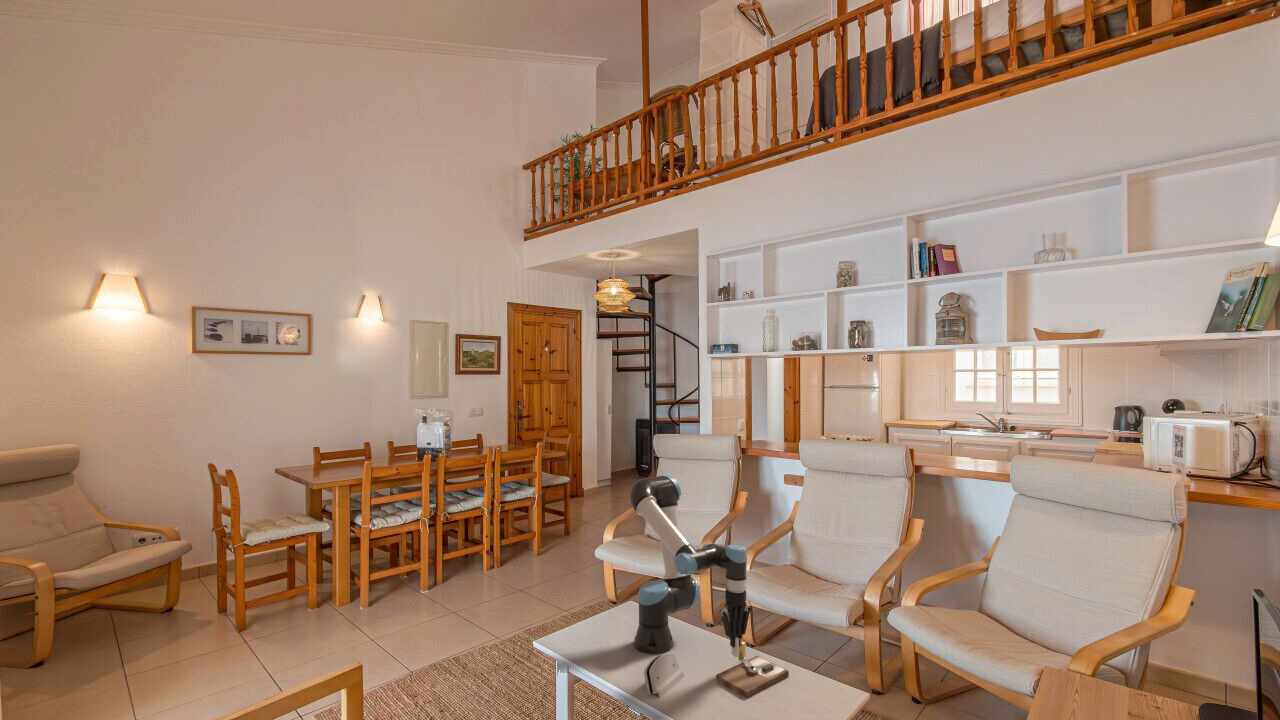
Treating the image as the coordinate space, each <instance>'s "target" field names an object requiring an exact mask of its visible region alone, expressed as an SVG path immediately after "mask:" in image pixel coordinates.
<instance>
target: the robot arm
mask: <svg viewBox="0 0 1280 720" xmlns="http://www.w3.org/2000/svg"><path fill="white" fill-rule="evenodd" d="M681 496H682V489H681V485H680V483H679V482H678V481H677V479H676V478H675V477H673V476H672V475H659V476H651V477H644V478H640V479H638V480H637V481H636V480H635V482H634V483H633V485H631V488H630V491H629V501H630V504H631V507H632V509H633V510H634V511H635V513H636V514H637V515H638V516H641V517H642V518H643V519H644V520H645V522H647V524H648V525H649V526H650V528H652V530H653V531H654V532H655V534H656V535H657V537H658V538H659V543H660V548H661V555H662V560H663V565H664V571H665V572H664V573H665V574H664V575H663V577H662V580H660V579H658V580H650V581H647V582H645V583H643V584H642V585H641V586H640V587H639V590H638V626H637V631H636V634H635V635H634V636H635V637H634V638H633V639H634V640H633V641H634V643H633V644H634V648H635V649H636V650H638V651H639V652H642V653H645V654H654V655H655V654H656V655H657V654H658V655H659V654H664V653H667V652H668V651H670V650H671V649H672V648H673V646H674V642H673V641H674V640H673V636H672V632H671V629H670V626H669V615H672V614H676V613H679V612H682V611H685V610H689V609H690V608H693V607H694V606H696V605H697V603H698V602H699V599H700V596H701V595H700V594H701V592H700V590H701V589H700V586H699V582H697V580H696V578H695V577H693V576H692V575H693V574H695V573H698V572H701V571H705V570H709V569H712V568H720V569H723V570H725V594H724V595H725V604H724V608H723V609H720V610H719V612H718V613H719V614H720V616H721V620H722V623H723V628H724V629H723V630H724V634H725V635H726V636H727V637H729V646H730V647H731V655H733V656H734V657H735V658H737V657H739V646H740V641H741V639H742V638H743V636H744V635H746V631H747V627H748V621H749V617H750V613H751V611H752V607H750V606H749V605H747V602H746V601H747V562H748V555H747V554H748V553H747V549H746V547H745V546H743V545H740V544H733V543H732V544H728V545H727V546H726V547H724V546H721V545H719V544H718V543H717V544H716V543H712V542H707V543H705V544H704V545H703V546H702V547H701V548H698V549H695V548H694V547H693V545H692V544H691V543H690V542H689V540H688V539H687V538H686V537H685V536H684V534H683V533H682V532H681V530H679V525H678V519H677V515H676V509H677V508H678V507H679V503H678V501H679V500H680V499H681Z"/></svg>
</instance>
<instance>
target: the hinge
mask: <svg viewBox="0 0 1280 720" xmlns="http://www.w3.org/2000/svg"><path fill="white" fill-rule="evenodd" d="M643 676H644V680H645V687H646V692H647V694H649V695H650V694H658V697H659V698H662V697H663V696H664V695H666V694H667V692H669V691H671V689H672V688H674V686H676V684H679V682H680V681H681V680H682V679H684V678H685V673H684V671H683V670H682V669H681V668H680V666H679V663H678V660H677V658H676V655H675V653H673V652H664V653H660V654H658V655H657V656H654V657H653V658H652V659H651V660H650V661H649V662H648V663H647V665H646V667H645V668H644V671H643Z"/></svg>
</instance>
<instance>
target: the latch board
mask: <svg viewBox="0 0 1280 720" xmlns="http://www.w3.org/2000/svg"><path fill="white" fill-rule="evenodd" d="M747 660H748V661H749V662H750V663H751V664H752V666H755V667H757V674H750V673H748V670H747V669H746V667H745V666H744V665H743V664H742V663H741V662H740V663H739V664H737V665H733V667H732V666H731V667H730V668H727V669H726V670H724V671H722V672H719V673H717V674H716V675H715V682H716V681H717V683H719V684H721V685H723V686H725V687H727V688H728V689H730V690H732V691H733V692H735V693H737V694H739V695H741V696H742V697H744V698H746V699H748V698H750V697H753V696H754V695H756V694H758V693H760V692H762V691H764V690H766V689H767V688H769V687H772V686H773V685H775V684H777V683H779V682H781V681H782V680H785V679H787V678H789V670H788V669H786V668H784V667H782V666H781V665H777V664H776V663H773V662H771V661H770V660H767V659H766V658H763V657H761V656H759V655H756V656H754V657H751V658H749V659H747Z"/></svg>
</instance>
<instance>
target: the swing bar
mask: <svg viewBox="0 0 1280 720" xmlns="http://www.w3.org/2000/svg"><path fill="white" fill-rule="evenodd" d="M746 647H747V646H746V641H745V640H740V646H739V657H738V658H737V659H738V661H739V662H740V664H741V663H742V664H743V665H744V666H745V667H746V669H747V670H748V673H750V674H757V667H755V666H752V664H751V663H750V662H749V661H748V660H749V659H747V658H746V656H747V655H746V653H747V651H746Z"/></svg>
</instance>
